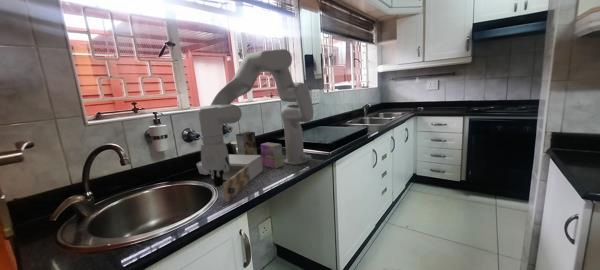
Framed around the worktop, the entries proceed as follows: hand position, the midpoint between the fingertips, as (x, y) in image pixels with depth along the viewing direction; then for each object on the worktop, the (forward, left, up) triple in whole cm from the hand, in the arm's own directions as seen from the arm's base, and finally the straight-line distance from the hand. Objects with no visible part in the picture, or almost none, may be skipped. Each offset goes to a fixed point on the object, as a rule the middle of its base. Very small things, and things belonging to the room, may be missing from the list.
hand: (219, 185), depth 99 cm
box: (-6, -38, -5) cm, 39 cm away
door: (-6, -6, -4) cm, 9 cm away
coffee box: (+13, -46, -5) cm, 49 cm away
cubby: (+6, -23, -5) cm, 25 cm away
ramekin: (+24, -25, -5) cm, 35 cm away
